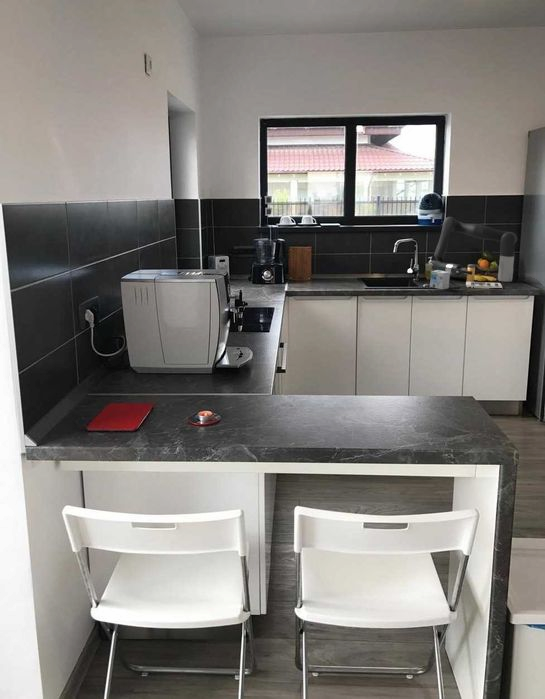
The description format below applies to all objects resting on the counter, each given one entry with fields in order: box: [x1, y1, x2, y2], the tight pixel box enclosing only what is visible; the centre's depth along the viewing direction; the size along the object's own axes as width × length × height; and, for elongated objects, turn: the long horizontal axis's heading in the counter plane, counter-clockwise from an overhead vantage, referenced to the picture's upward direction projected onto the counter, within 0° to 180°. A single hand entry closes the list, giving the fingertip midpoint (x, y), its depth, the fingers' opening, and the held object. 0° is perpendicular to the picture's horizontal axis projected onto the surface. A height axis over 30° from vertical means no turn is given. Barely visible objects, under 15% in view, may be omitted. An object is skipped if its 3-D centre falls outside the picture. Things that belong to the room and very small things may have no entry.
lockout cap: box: [466, 263, 476, 282], centre depth 463 cm, size 5×5×12 cm
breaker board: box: [465, 281, 503, 289], centre depth 451 cm, size 22×14×3 cm, turn 78°
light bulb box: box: [429, 270, 451, 290], centre depth 443 cm, size 11×7×11 cm, turn 37°
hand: (474, 272), depth 461 cm, fingers closed on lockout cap, 4 cm apart
